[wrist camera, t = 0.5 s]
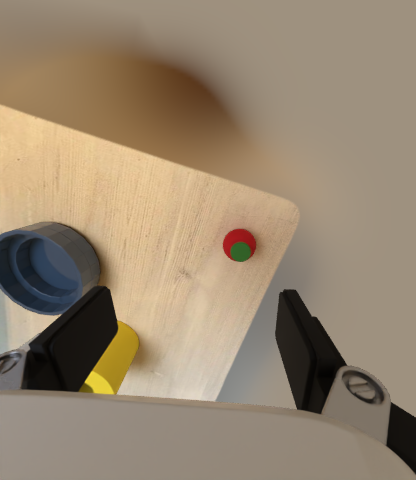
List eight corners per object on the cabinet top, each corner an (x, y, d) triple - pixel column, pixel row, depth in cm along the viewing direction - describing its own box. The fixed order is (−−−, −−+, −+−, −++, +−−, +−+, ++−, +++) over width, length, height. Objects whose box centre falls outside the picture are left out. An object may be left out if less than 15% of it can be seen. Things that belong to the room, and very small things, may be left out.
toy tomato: (219, 228, 30) (219, 240, 25) (250, 221, 29) (255, 232, 24) (226, 256, 31) (227, 271, 26) (256, 250, 30) (261, 265, 26)
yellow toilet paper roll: (145, 332, 38) (121, 382, 29) (130, 364, 41) (104, 418, 32) (96, 311, 37) (56, 356, 28) (84, 346, 40) (45, 396, 31)
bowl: (5, 232, 33) (-32, 242, 28) (78, 211, 30) (51, 219, 26) (48, 302, 37) (22, 321, 32) (115, 288, 35) (98, 307, 30)
